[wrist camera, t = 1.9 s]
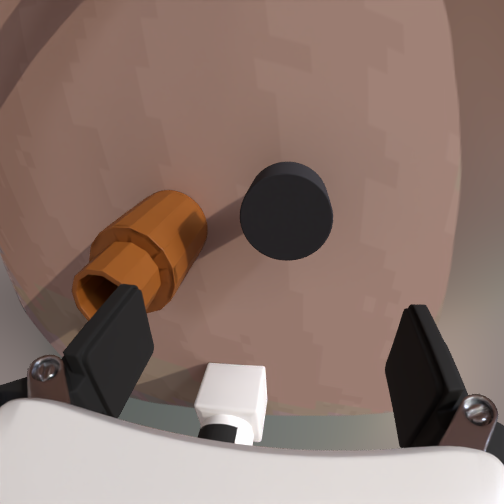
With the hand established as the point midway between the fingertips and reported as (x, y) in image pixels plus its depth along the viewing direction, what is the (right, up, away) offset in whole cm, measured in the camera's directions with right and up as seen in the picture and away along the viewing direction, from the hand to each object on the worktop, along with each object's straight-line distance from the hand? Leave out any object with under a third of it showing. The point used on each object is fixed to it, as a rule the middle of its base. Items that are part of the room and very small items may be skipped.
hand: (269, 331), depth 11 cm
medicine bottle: (-2, -14, +28) cm, 31 cm away
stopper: (+3, +8, +16) cm, 18 cm away
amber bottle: (-8, +5, +19) cm, 22 cm away
